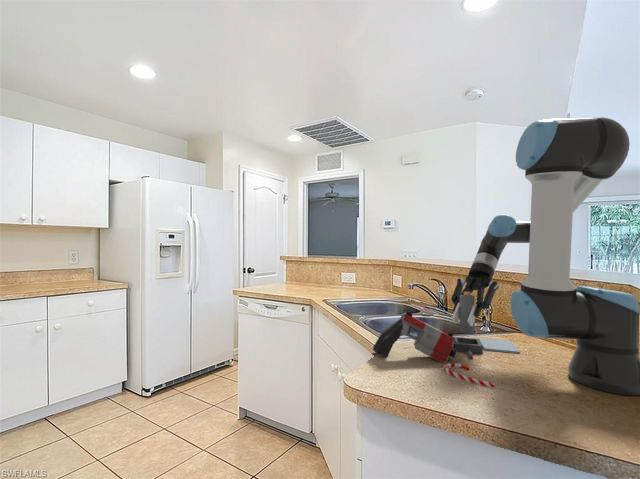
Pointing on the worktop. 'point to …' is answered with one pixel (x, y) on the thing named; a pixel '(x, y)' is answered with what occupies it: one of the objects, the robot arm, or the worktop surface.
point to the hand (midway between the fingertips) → (461, 322)
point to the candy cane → (483, 383)
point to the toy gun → (417, 338)
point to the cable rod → (466, 313)
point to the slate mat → (498, 345)
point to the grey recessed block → (469, 346)
